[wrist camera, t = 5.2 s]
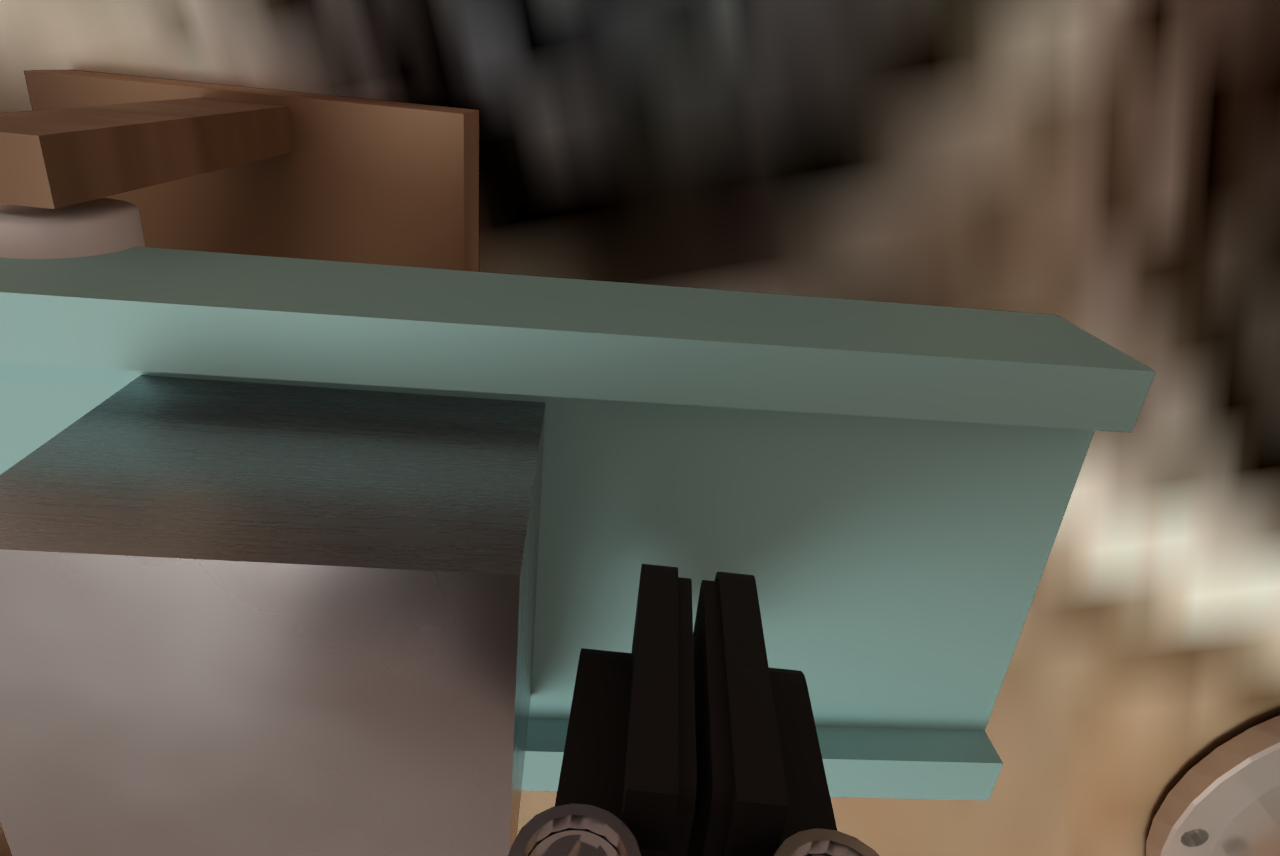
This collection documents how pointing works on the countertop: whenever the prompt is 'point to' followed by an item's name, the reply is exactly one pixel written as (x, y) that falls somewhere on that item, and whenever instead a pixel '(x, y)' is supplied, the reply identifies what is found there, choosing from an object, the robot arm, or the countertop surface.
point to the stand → (252, 167)
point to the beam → (656, 451)
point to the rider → (270, 624)
